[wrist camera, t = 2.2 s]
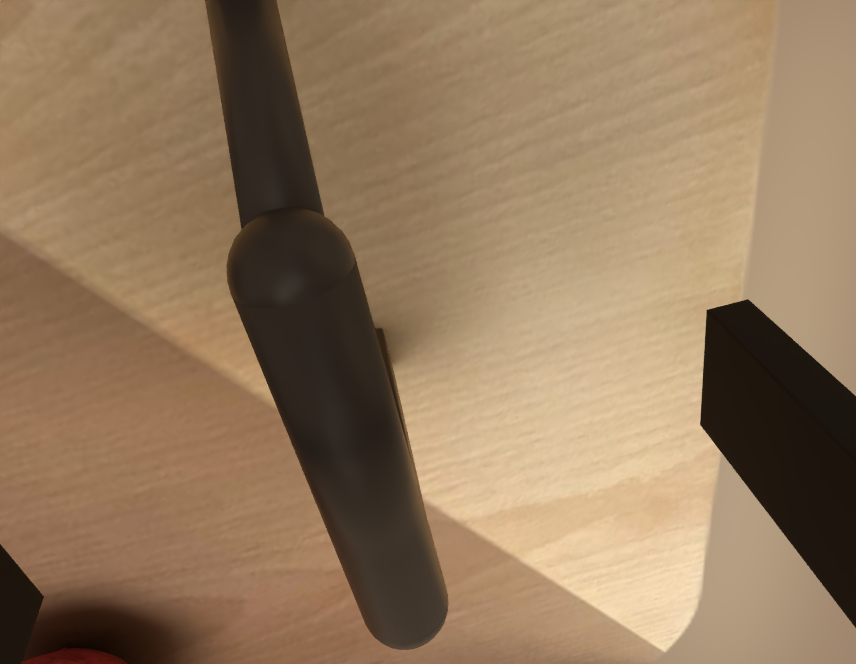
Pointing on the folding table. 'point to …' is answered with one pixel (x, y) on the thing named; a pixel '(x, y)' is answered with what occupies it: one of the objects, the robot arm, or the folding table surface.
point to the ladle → (321, 337)
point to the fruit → (76, 657)
